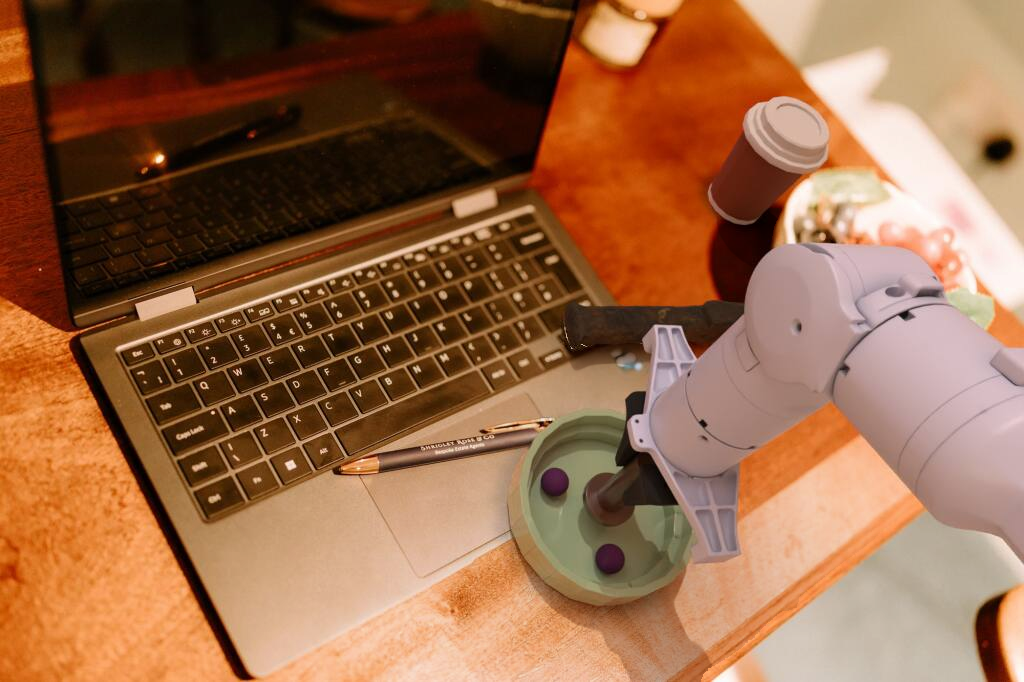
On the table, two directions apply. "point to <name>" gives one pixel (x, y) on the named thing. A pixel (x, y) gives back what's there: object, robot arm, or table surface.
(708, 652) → the table surface
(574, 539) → the bowl
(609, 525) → the masher
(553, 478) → the berry
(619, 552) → the berry
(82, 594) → the table surface
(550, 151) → the table surface
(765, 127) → the coffee cup
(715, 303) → the hand tool
